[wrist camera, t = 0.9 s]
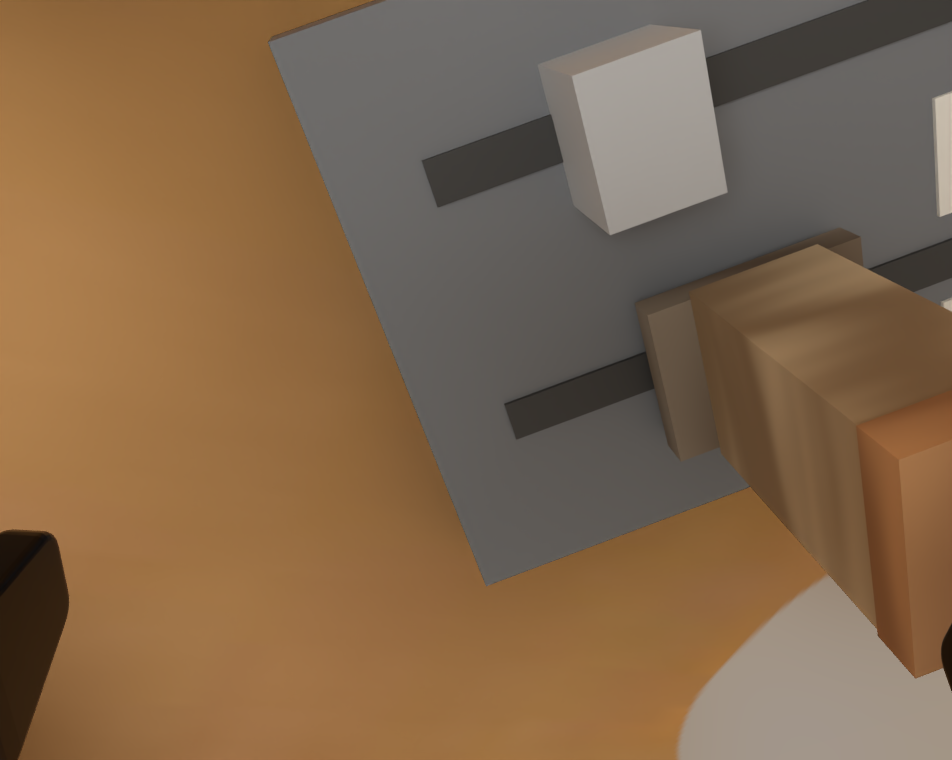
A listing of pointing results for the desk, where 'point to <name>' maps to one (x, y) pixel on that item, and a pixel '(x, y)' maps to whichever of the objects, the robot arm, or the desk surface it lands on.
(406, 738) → the desk surface
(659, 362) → the block
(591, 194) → the console
